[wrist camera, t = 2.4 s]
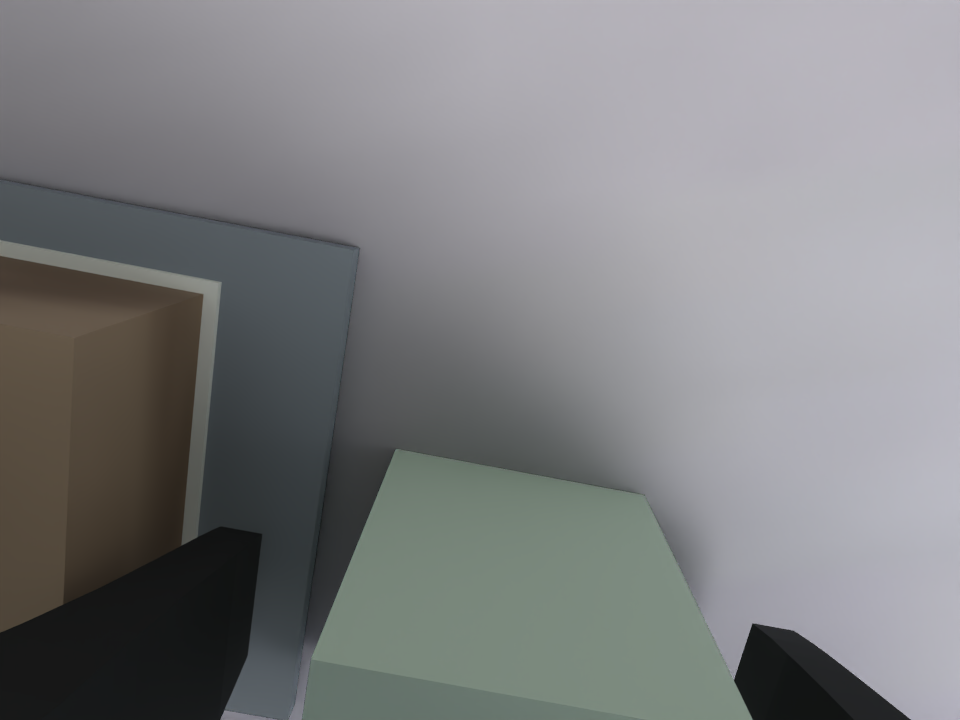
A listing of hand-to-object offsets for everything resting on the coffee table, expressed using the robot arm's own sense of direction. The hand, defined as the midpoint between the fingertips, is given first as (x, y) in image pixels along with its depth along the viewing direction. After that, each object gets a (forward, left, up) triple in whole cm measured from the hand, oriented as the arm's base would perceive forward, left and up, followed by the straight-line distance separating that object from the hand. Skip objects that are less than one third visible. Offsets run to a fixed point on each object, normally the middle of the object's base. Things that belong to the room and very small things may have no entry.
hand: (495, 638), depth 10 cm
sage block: (0, 0, -2) cm, 2 cm away
